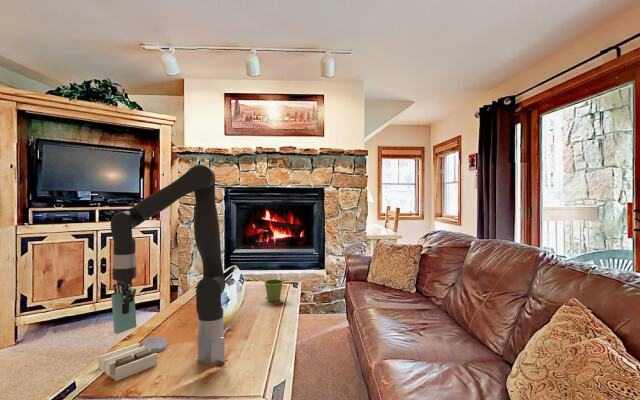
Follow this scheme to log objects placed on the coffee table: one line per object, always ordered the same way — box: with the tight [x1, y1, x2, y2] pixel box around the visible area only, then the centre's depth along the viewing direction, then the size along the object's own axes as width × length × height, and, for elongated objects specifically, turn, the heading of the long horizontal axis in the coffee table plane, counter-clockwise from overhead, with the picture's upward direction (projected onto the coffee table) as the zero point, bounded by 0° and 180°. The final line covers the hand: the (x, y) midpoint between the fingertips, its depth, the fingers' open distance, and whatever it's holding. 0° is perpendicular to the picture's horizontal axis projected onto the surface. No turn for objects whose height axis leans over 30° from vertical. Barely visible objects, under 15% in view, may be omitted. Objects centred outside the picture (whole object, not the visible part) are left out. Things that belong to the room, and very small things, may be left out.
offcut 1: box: [115, 355, 135, 368], centre depth 119 cm, size 3×5×5 cm, turn 143°
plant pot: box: [263, 278, 285, 303], centre depth 207 cm, size 12×12×11 cm
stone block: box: [141, 336, 169, 354], centre depth 139 cm, size 12×5×10 cm
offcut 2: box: [134, 349, 153, 361], centre depth 123 cm, size 3×5×5 cm, turn 143°
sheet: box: [110, 293, 137, 335], centre depth 125 cm, size 2×7×14 cm, turn 144°
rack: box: [98, 342, 158, 382], centre depth 124 cm, size 14×14×6 cm
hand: (124, 312), depth 125 cm, fingers closed on sheet, 2 cm apart
